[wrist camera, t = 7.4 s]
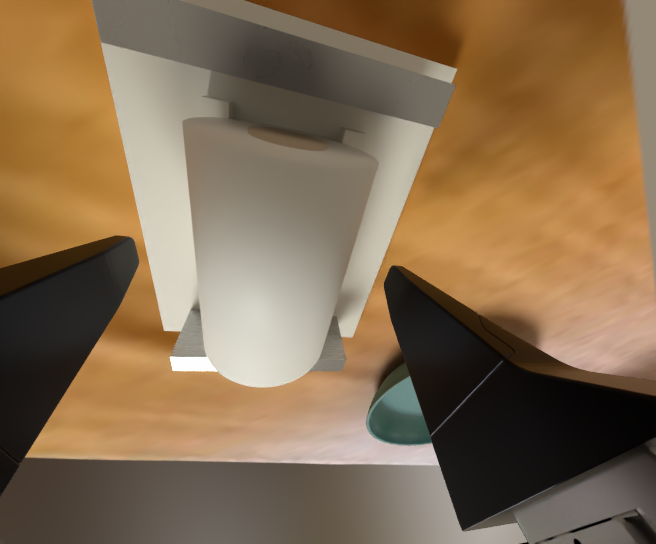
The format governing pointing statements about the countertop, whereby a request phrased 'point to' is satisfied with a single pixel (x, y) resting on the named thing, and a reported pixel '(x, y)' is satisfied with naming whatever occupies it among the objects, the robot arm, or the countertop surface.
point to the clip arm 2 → (270, 57)
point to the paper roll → (270, 241)
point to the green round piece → (397, 412)
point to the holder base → (263, 107)
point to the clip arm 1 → (194, 358)
